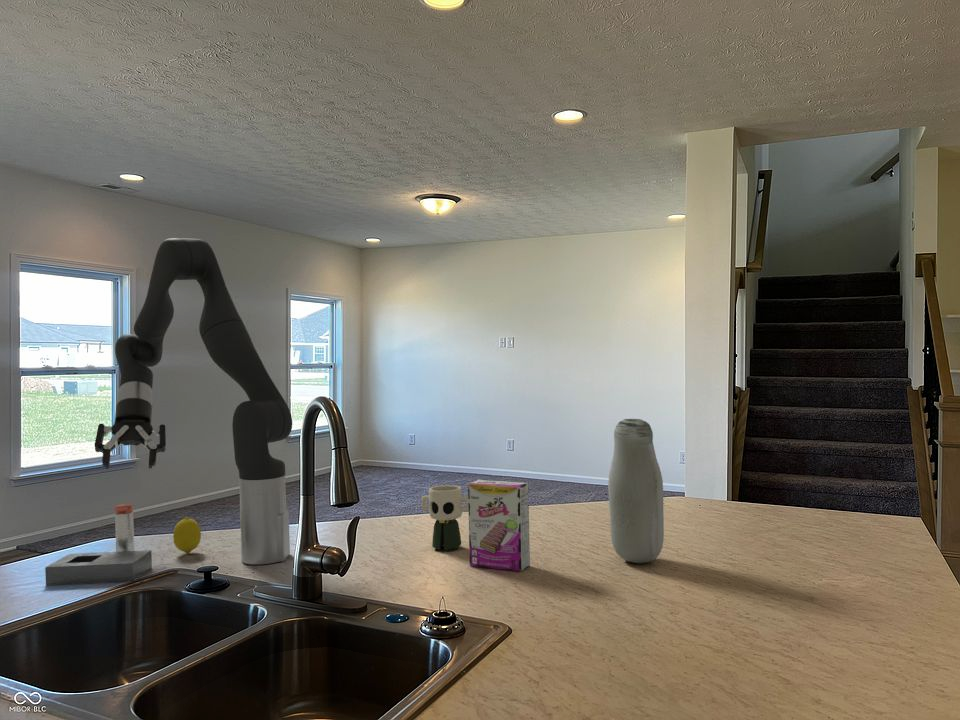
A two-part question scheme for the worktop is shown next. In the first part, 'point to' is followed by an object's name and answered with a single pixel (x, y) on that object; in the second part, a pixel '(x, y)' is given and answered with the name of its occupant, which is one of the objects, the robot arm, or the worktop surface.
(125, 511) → the pin
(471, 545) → the candy bar box
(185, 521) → the lemon
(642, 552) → the grey bottle
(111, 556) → the grey block with hole
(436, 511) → the character mug
